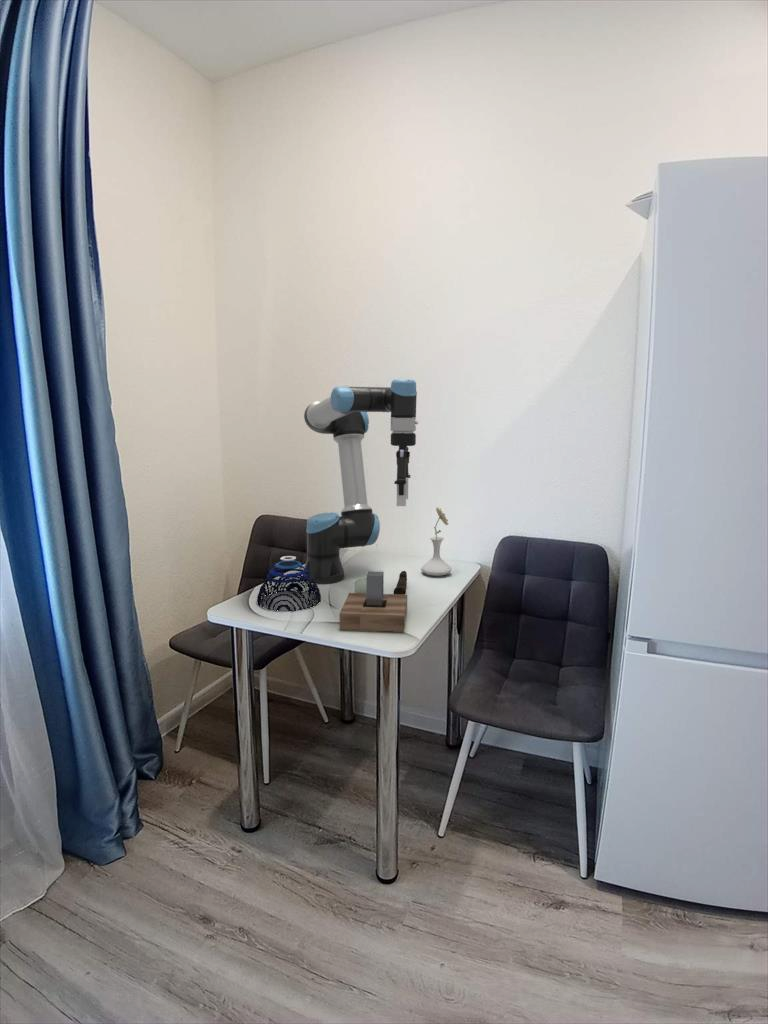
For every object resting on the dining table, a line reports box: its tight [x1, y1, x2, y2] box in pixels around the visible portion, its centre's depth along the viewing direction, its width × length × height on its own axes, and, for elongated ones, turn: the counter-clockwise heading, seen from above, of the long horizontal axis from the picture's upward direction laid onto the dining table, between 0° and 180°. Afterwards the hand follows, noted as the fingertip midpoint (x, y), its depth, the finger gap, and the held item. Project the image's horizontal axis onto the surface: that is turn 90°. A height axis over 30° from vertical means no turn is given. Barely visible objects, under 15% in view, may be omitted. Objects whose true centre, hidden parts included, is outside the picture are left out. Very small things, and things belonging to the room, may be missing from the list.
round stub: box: [354, 577, 366, 593], centre depth 182 cm, size 8×8×7 cm
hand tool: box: [393, 570, 408, 595], centre depth 195 cm, size 19×4×5 cm, turn 171°
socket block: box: [339, 592, 408, 633], centre depth 167 cm, size 18×18×5 cm
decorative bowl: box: [256, 555, 322, 612], centre depth 183 cm, size 20×20×14 cm
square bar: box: [365, 570, 385, 608], centre depth 166 cm, size 4×4×14 cm
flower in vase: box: [420, 506, 452, 577], centre depth 213 cm, size 13×11×25 cm
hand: (402, 502), depth 175 cm, fingers open, 13 cm apart
